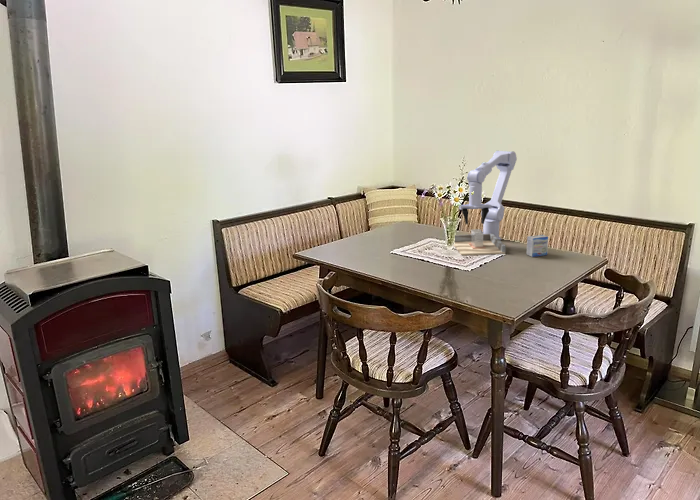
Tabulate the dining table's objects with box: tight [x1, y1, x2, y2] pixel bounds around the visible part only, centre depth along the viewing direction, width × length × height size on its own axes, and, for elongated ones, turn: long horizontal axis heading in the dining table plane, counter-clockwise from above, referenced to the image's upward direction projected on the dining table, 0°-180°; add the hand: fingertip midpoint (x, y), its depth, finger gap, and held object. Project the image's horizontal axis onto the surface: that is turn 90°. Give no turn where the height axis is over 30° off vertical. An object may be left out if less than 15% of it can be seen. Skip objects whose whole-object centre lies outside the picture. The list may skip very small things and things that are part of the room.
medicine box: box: [526, 234, 549, 258], centre depth 241 cm, size 8×4×9 cm, turn 105°
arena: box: [453, 233, 507, 256], centre depth 256 cm, size 22×20×4 cm
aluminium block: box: [470, 228, 483, 248], centre depth 256 cm, size 4×7×7 cm, turn 1°
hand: (474, 223), depth 259 cm, fingers open, 7 cm apart
